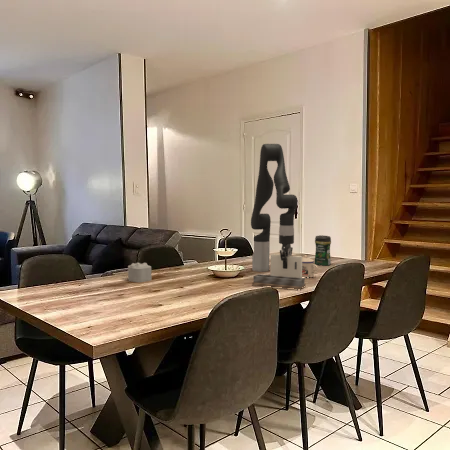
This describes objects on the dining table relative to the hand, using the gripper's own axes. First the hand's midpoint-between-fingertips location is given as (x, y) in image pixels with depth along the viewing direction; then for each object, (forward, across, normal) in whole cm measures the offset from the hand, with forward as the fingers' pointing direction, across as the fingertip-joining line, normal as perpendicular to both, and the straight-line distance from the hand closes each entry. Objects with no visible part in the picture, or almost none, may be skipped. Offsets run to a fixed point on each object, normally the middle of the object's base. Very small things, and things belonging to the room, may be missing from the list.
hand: (286, 267), depth 227 cm
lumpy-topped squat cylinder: (+8, +27, -72) cm, 77 cm away
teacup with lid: (+8, -18, +6) cm, 20 cm away
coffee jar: (+8, -61, +3) cm, 61 cm away
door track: (+7, +11, 0) cm, 13 cm away
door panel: (+5, 0, 0) cm, 5 cm away
